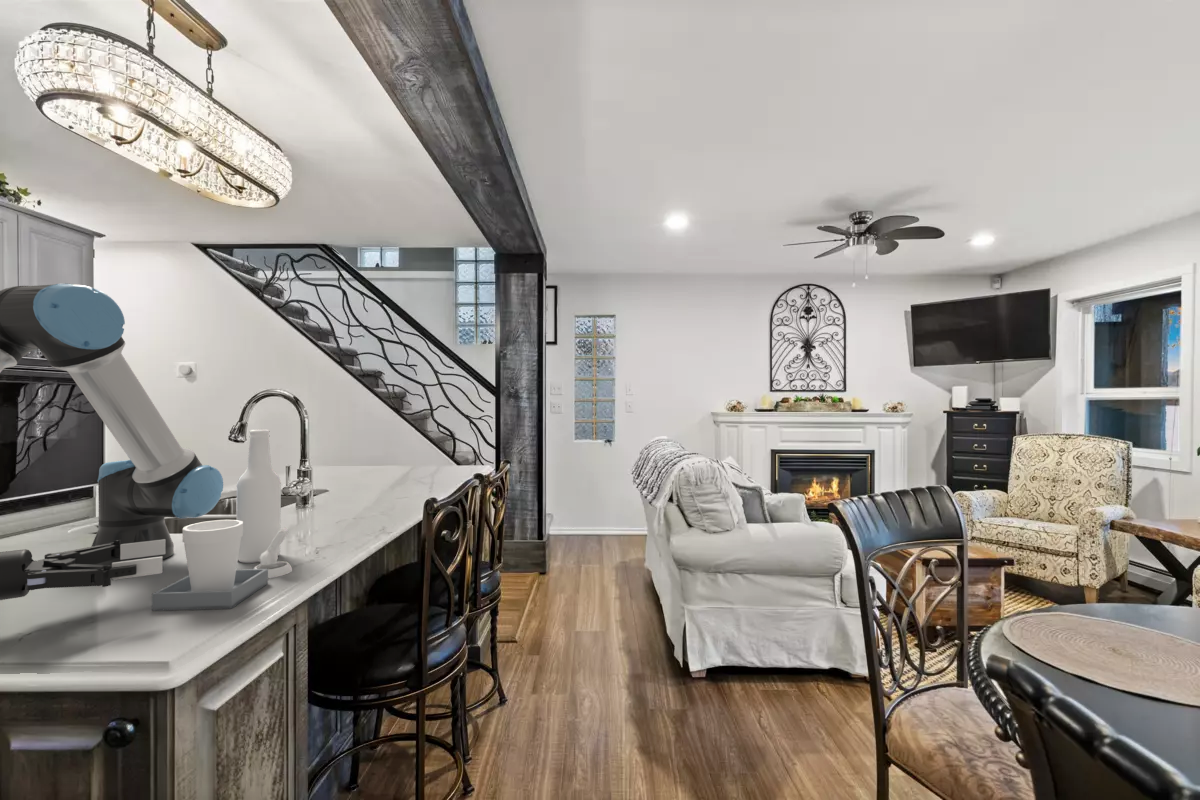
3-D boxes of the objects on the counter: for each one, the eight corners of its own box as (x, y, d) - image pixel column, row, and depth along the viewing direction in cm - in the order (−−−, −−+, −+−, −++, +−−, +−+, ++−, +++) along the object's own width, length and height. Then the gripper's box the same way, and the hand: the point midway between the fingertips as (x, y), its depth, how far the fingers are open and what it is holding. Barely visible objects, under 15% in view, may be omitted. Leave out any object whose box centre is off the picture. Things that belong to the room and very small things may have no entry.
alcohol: (231, 565, 124) (232, 431, 123) (241, 554, 132) (241, 429, 132) (276, 561, 127) (277, 430, 127) (283, 551, 135) (284, 428, 135)
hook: (300, 554, 115) (270, 537, 114) (271, 597, 117) (240, 581, 115) (316, 537, 122) (287, 521, 121) (287, 578, 124) (259, 562, 123)
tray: (198, 585, 111) (198, 570, 111) (267, 583, 112) (267, 568, 112) (152, 610, 98) (152, 593, 98) (231, 608, 99) (231, 591, 99)
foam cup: (252, 591, 106) (252, 524, 106) (196, 606, 98) (196, 533, 98) (228, 582, 111) (228, 517, 111) (173, 595, 104) (173, 526, 103)
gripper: (13, 578, 98) (166, 558, 110) (-32, 627, 78) (160, 596, 90) (14, 536, 98) (166, 521, 110) (-32, 574, 78) (161, 550, 90)
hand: (164, 555), depth 100 cm, fingers open, 13 cm apart
